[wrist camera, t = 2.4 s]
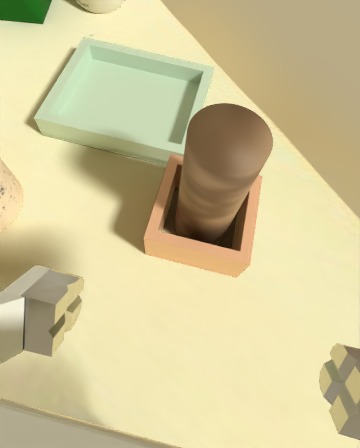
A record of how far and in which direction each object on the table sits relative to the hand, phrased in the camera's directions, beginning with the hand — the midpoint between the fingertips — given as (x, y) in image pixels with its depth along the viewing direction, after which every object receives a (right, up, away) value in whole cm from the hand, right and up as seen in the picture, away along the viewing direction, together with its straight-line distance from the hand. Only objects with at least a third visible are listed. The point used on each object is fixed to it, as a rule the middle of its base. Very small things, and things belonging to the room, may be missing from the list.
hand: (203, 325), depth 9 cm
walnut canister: (+1, +3, +22) cm, 22 cm away
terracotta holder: (+1, +3, +22) cm, 22 cm away
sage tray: (-7, +18, +28) cm, 34 cm away
